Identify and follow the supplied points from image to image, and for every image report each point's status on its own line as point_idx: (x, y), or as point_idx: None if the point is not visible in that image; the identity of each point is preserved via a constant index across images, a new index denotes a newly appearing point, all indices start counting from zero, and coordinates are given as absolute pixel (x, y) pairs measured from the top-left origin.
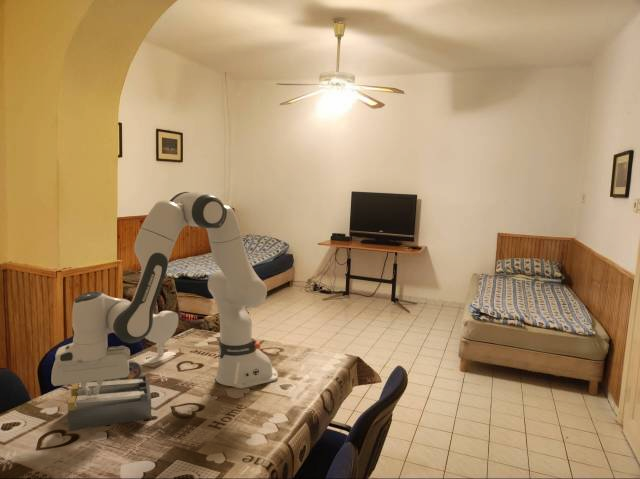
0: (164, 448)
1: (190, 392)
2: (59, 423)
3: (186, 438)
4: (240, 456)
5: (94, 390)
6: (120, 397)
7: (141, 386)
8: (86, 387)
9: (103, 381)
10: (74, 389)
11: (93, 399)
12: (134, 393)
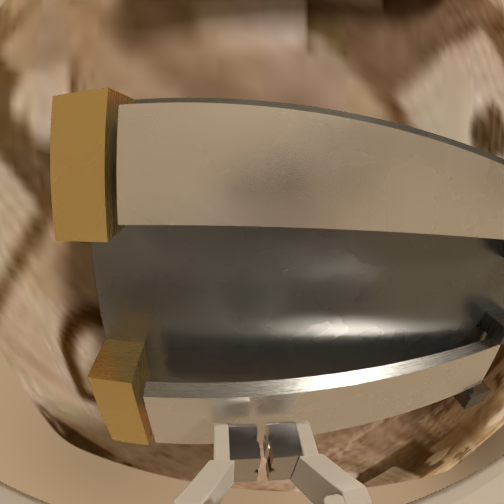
0: (394, 446)
1: None
2: (91, 254)
3: (443, 418)
4: (459, 450)
5: (278, 475)
6: (402, 410)
7: None
8: (220, 496)
9: (377, 126)
10: (85, 237)
11: (261, 439)
12: (466, 374)
